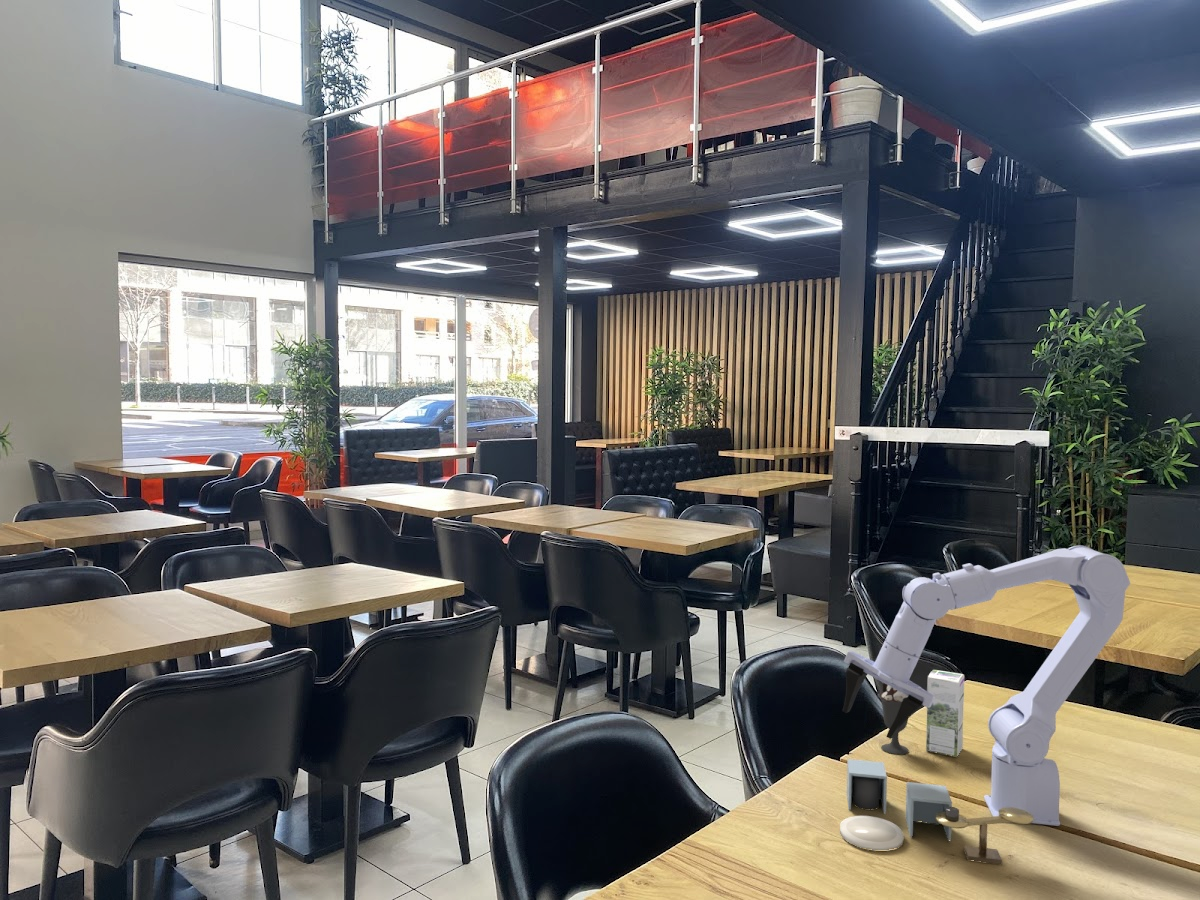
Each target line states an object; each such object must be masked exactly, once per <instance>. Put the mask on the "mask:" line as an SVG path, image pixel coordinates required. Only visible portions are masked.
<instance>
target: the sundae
mask: <svg viewBox="0 0 1200 900" xmlns="http://www.w3.org/2000/svg"><path fill="white" fill-rule="evenodd" d="M896 686H897V685H896ZM881 689H882V691H880V693H877V696H878V698H879V699H880V701H881V707H882V714H883V715H882V716H883V722H884V725H885V726H886V727H887V728H888V730H889V729H890V728H891V726H892V724H893V722H894V720H895V718H896V716H897V714H898V711H899V709H900V706H901V703H902V701H903V699H904V698H907V697H908V696H907V695H905V694H903V693H901V692H900V691H898V690H896V689H894V688H892V687H891V686H889V685H887V684H885V683H883V682H881ZM908 721H909V718H908V719H907V720H906V721H905V722H904V723H903V724H902V726H901V727H900V728H899V729H898V730H897V732H896V733H895V735H894V737H893V738H891V741H890V743H885V744H882V745H881V750H882V751H884V752H885V753H887V752H888V754H890V753H891V755H896V754H903V755H906V753H907V754H909V752H910V751H909V748H908V747H906V746H904V745H902V744H900V740H899V733H900V732H902V731H904V730H905V728H907V724H908ZM908 751H909V752H908Z"/></svg>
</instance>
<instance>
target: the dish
mask: <svg viewBox="0 0 1200 900" xmlns="http://www.w3.org/2000/svg"><path fill="white" fill-rule="evenodd" d="M839 834H841V835H840V837H841V836H842V837H843V838H842V837H841V838H842V839H843V840H844V839H845V840H846V841H847V843H848V842H849V843H851V844H853V845H856V846H858V847H861V848H866V849H872V850H889V849H894V848H898V847H899V846H901V845H902V846H903V844H904V833H903V830H902V829H901V827H899V825H897V824H895V823H893V822H892V821H890V820H887V819H884V818H882V817H876V816H869V815H854V816H849V817H846V818H845V819H843V820H842V821H841V822H840V823H839ZM845 840H844V841H845ZM846 841H845V842H846ZM849 843H848V844H849ZM902 843H903V844H902ZM851 844H850V845H851ZM853 845H852V846H853ZM902 846H901V847H902ZM858 847H857V848H858ZM861 848H860V849H861ZM898 849H899V848H898Z"/></svg>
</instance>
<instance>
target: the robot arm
mask: <svg viewBox="0 0 1200 900" xmlns="http://www.w3.org/2000/svg"><path fill="white" fill-rule="evenodd" d="M961 566H962V568H961V569H958V570H953V571H949V572H944V573H943V574H941V573H940V572H935V573H932V578H929V577H925V576H923V577H922V576H919V577H916V578H914V579H912V580H910V582H908V583H907V584H906V585H904V586H903V588H902V599H903V602H902V604H901V606H900V608H899V610H898V612H897V614H896V615H895V618H894V620H893V622H892V624H891V626H890V628H889V630H888V633H887V635H886V638H885V640H884V642H883V644H882V647H881V648H880V650H879V653H878V655H877V657H876V658H875V661H874V660H872V659H870V658H867V657H865V656H863V655H861V654H858V653H857V652H854V651H853V650H850V651H849V650H848V651H847V653H846V655H845V657H844V660H843V663H845V664H847V665H849V666H848V667H846V669H845V681H846V682H845V683H846V686H845V697H844V704H843V707H842V712H843V713H845V714H847V713H849V712H850V711H851V710H852V707H853V706H854V703H855V701H856V698H857V695H858V693H859V692H860V689H861V687H862V685H863V683H864V682H865V680H866V677H867V676H868V675H869V676H870V677H872V678H874V679H876V680H877V681H880V682H881V683H882V682H883V683H885V684H887V685H889V686H891V687H892V688H894V689H896V690H898V691H900V692H901V693H903V694H905V695H907V696H908V697H907V698H904V699H903V701H902V703H901V706H900V709H899V711H898V714H897V716H896V718H895V720H894V722H893V724H892V726H891V728H890V729H889V728H888V731H887V734H886V738H887V739H889V740H892V738H893V737H894V735H895V733H896V732H897V730H898V729H899V728H900V727H901V726H902V724H903V723H904V722H905V721H906V720H907V719H908V720H909V718H911V717H912V716H913V715H915V713H916V712H917V711H919V710H920V709H922V708H923V707H925V708H926V709H927V708H929V707H931V705H932V703H933V700H934V698H935V695H933V694H931V693H929V692H928V691H927V689H924V688H922V687H921V686H920V685H919V684H916V683H915V682H913V681H911V680H910V678H911V676H912V675H913V672H914V670H915V668H916V666H917V663H918V661H919V659H920V658H921V655H922V653H923V651H924V648H925V646H926V644H927V642H928V640H929V637H930V636H931V633H932V630H933V627H934V625H935V623H936V622H937V620H940V619H941V618H944V617H945V615H946V614H948V612H949V610H951V611H953V610H957V609H961V608H965V607H968V606H969V607H970V606H973V605H977V604H981V603H984V602H989V601H992V599H993V598H994V597H995V595H996V593H997V592H998V591H1000V590H1004V589H1010V588H1014V587H1019V586H1024V585H1025V586H1026V585H1029V584H1033V583H1038V582H1043V581H1048V580H1051V581H1056V582H1060V583H1064V584H1067V585H1068V586H1069V587H1070V589H1071V590H1072V591H1073V593H1074V597H1075V599H1076V603H1077V605H1078V608H1079V613H1078V614H1077V615H1076V617H1075V618H1074V620H1072V623H1071V624H1070V625H1069V626H1068V628H1067V629H1066V631H1065V633H1064V634H1063V635H1062V636H1061V638H1060V639H1059V641H1058V642H1057V644H1056V645H1055V646H1054V648H1053V649H1052V651H1051V652H1050V653H1049V655H1048V656H1047V657H1046V659H1045V660H1044V661H1043V663H1042V664H1041V666H1040V667H1039V669H1038V670H1037V671H1036V673H1035V675H1034V676H1033V677H1032V678H1031V680H1030V682H1029V683H1028V684H1027V686H1026V687H1025V688H1024V690H1023V691H1022V692H1019V693H1017V694H1013V695H1012V696H1010V698H1008V701H1006V703H1004V704H1003V705H1002V706H999V707H998V708H995V710H993V712H991V714H990V716H989V717H988V721H987V722H988V723H987V726H988V731H989V733H990V734H991V736H992V737H993V739H994V745H993V746H992V749H991V775H990V776H991V779H990V781H991V786H990V795H988V794H984V796H983V799H984V801H985V803H986V805H987V808H988V809H989V812H990V814H991V817H994V816H999V809H1001V808H1004V807H1012V808H1018V809H1022V810H1025V811H1027V812H1029V813H1030V814H1031V815H1032V816H1033V822H1031V823H1030V824H1037V825H1046V826H1056V827H1060V826H1061V822H1060V790H1061V789H1060V788H1061V783H1060V781H1061V780H1060V773H1059V768H1058V765H1057V762H1056V761H1055V760H1053V759H1050V758H1046V756H1047V755H1048V753H1049V750H1050V749H1049V748H1050V741H1051V738H1052V737H1053V735H1054V734H1055V732H1056V728H1057V727H1056V725H1057V724H1056V721H1057V720H1056V719H1057V718H1056V714H1057V712H1059V710H1060V709H1061V707H1062V705H1063V704H1065V702H1066V700H1067V699H1068V698H1069V696H1070V695H1071V693H1072V692H1073V691H1074V689H1075V687H1076V686H1077V685H1078V683H1079V682H1080V681H1081V680H1082V678H1083V676H1084V675H1085V674H1086V672H1087V671H1088V669H1089V668H1090V667H1091V665H1092V664H1093V663H1094V661H1095V660H1096V659H1097V657H1098V655H1099V654H1100V653H1101V651H1102V650H1103V649H1104V647H1105V645H1107V643H1108V642H1109V641H1110V639H1111V637H1112V636H1113V635H1114V633H1115V632H1116V631H1117V629H1118V628H1119V626H1120V625H1121V623H1122V621H1123V618H1124V607H1125V599H1126V590H1127V589H1128V588H1129V586H1130V585H1131V582H1130V581H1131V580H1130V578H1129V576H1128V573H1127V571H1126V569H1125V566H1124V565H1123V562H1121V560H1120V559H1119V558H1117V557H1115V556H1114V555H1111V554H1107V553H1102V552H1100V551H1097V550H1094V549H1093V548H1091V547H1088V546H1086V545H1081V544H1080V545H1079V544H1078V545H1074V546H1071V547H1068V548H1065V547H1064V548H1057V549H1054V550H1050V551H1048V552H1045V553H1042V554H1037V555H1035V556H1032V557H1029V558H1025V559H1021V560H1019V561H1016V562H1012V563H1008V564H1005V565H1002V566H998V567H996V568H993V569H988V568H985V567H984V566H982V565H979V564H977V565H974V564H972V563H965V564H962V565H961ZM896 685H897V686H896Z"/></svg>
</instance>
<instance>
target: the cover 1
mask: <svg viewBox="0 0 1200 900" xmlns="http://www.w3.org/2000/svg"><path fill="white" fill-rule="evenodd" d="M846 767H847V769H846V771H847V772H846V775H847V776H846V778H847V779H846V797H847V807H848V810H849V811H851V810H852V797H853V784H854V776H861V777H871V778H879V800H880V801H881V802H880V803H881V806H882V812H883V814H884V813H885V815H886V814H887V790H888V789H887V787H888V780H887V779H888V775H887V771H886V766H885V763H884V762H883V761H872V760H863V759H851V758H847V764H846Z"/></svg>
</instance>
